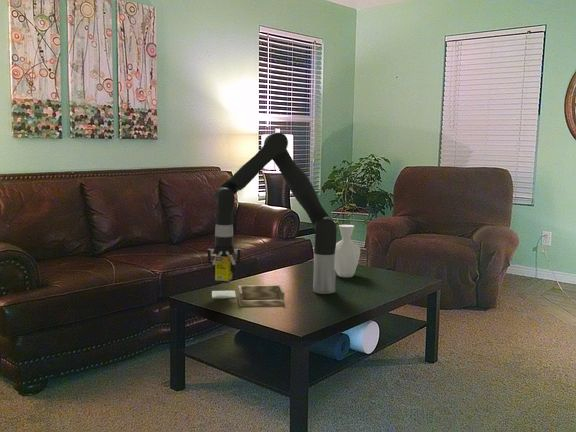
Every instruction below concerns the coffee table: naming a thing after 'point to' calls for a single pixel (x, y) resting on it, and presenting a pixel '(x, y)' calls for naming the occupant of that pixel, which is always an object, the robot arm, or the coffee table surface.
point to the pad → (223, 294)
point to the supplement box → (223, 269)
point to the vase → (346, 253)
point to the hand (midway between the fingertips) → (223, 273)
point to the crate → (261, 295)
